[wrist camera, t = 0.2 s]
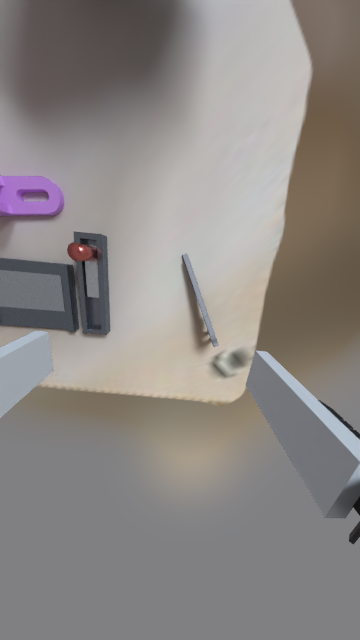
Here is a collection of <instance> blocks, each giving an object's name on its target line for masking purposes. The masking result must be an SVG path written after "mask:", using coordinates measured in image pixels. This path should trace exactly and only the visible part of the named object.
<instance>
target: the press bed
mask: <svg viewBox="0 0 360 640" xmlns="http://www.w3.org/2000/svg"><path fill="white" fill-rule="evenodd" d="M0 325H12V326H25V327H39V328H53V329H67V330H68V332H75V331H76V330H77V329H79V320H78V310H77V300H76V289H75V279H74V269H73V265H69V264H58V263H48V262H37V261H27V260H16V259H6V258H0Z"/></svg>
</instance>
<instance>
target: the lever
mask: <svg viewBox="0 0 360 640" xmlns="http://www.w3.org/2000/svg"><path fill="white" fill-rule="evenodd" d="M67 251H68V255H69V256H70V257H71V258H72V259H73V260H75V261H85V271H86V284H87V297H96V298H100V295H99V276H98V258H97V246H93V245H84V244H80V243H71V244H70V245H69V246H68V249H67Z"/></svg>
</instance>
